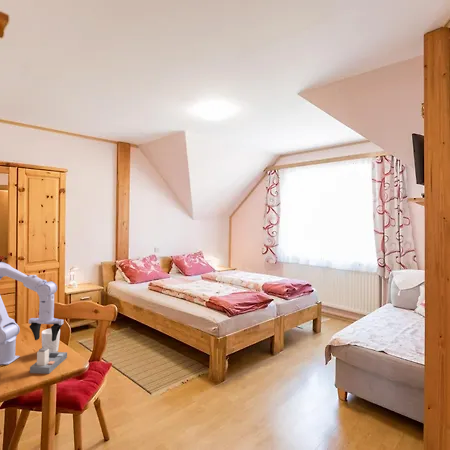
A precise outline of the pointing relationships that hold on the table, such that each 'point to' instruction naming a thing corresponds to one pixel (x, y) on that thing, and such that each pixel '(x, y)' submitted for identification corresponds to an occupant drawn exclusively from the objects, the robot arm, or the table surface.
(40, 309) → the robot arm
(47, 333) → the white cup
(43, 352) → the plug
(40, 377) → the table surface
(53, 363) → the socket strip
